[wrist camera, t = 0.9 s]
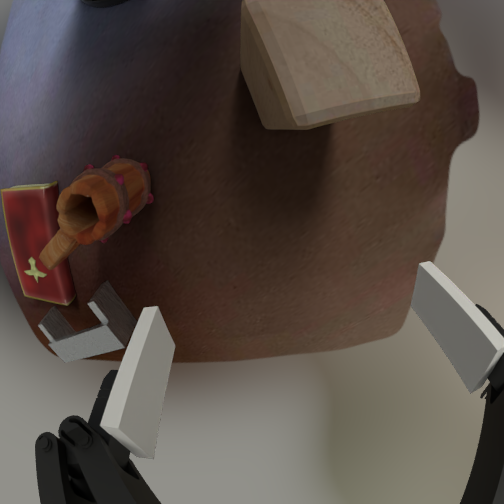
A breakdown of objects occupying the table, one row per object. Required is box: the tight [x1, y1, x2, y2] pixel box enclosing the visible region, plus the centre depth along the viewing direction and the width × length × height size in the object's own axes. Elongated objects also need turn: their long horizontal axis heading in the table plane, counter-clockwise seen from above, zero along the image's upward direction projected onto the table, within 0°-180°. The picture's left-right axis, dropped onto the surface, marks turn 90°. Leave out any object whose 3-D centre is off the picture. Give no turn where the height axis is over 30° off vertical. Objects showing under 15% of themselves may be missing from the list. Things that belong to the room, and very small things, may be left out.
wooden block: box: [240, 0, 420, 130], centre depth 21 cm, size 10×10×20 cm
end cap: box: [38, 281, 137, 362], centre depth 40 cm, size 9×18×7 cm, turn 112°
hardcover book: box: [1, 181, 76, 306], centre depth 35 cm, size 12×21×4 cm, turn 174°
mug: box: [39, 155, 154, 270], centre depth 28 cm, size 15×8×15 cm, turn 126°
